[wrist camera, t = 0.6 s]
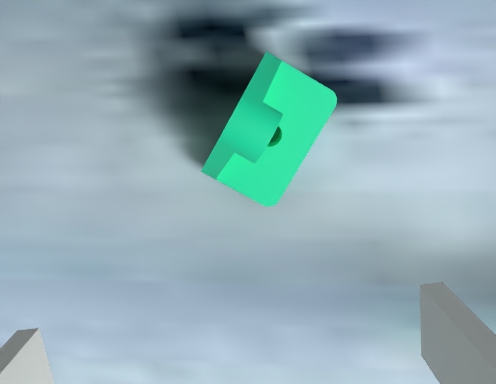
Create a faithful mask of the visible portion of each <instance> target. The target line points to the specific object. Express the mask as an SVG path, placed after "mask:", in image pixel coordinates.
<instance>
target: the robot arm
mask: <svg viewBox="0 0 496 384" xmlns="http://www.w3.org/2000/svg"><path fill="white" fill-rule="evenodd" d="M420 311H421V356H422V357H423V359H424V360H425V362H426V363H427V365H428V366H429V368H430V369H431V371H432V372H433V374H434V375H435V377H436V378H437V380H438V381H439V383H440V384H496V335H495V334H494V333H493V332H492V331H491V330H490V329H489V328H488V327H487V326H486V325H485V324H484V323H483V322H482V321H481V320H480V319H479V318H478V317H477V316H476V315H475V314H474V313H473V312H472V311H471V310H470V309H469V308H468V307H467V306H466V305H465V304H464V303H463V302H462V301H461V300H460V299H459V298H458V297H457V296H456V295H455V294H454V293H453V292H452V291H451V290H450V289H449V288H448V287H447V286H446V285H445V284H444V283H443V282H441V283H433V284H424V285H420ZM0 384H54V381H53V377H52V374H51V370H50V366H49V363H48V359H47V355H46V352H45V348H44V345H43V341H42V337H41V334H40V330H39V328H36V329H27V330H18V331H16V332H15V334H14V335H13V336H12V337H11V338H10V339H9V340H8V341H7V342H6V343H5V344H4V345H3V346H2V348H1V349H0Z"/></svg>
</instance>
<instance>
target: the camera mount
mask: <svg viewBox="0 0 496 384" xmlns="http://www.w3.org/2000/svg"><path fill="white" fill-rule="evenodd" d="M336 104H337V97H336V95H335V93H334V92H333V91H332V90H330V89H329V88H327V87H325V86H323V85H322V84H320V83H318V82H317V81H315V80H313V79H312V78H310V77H308V76H307V75H305V74H303V73H302V72H300V71H298V70H297V69H295V68H293V67H292V66H290V65H288V64H287V63H285V62H283V61H282V60H280V59H278V58H277V57H275V56H273V55H272V54H270V53H268V52H267V51H266V53H265V55H264V57H263V59H262V61H261V62H260V64H259V66H258V68H257V70H256V71H255V73H254V75H253V77H252V79H251V81H250V82H249V84H248V86H247V88H246V90H245V92H244V93H243V95H242V97H241V99H240V101H239V103H238V104H237V106H236V108H235V110H234V112H233V114H232V115H231V117H230V119H229V121H228V123H227V124H226V126H225V128H224V130H223V132H222V134H221V136H220V137H219V139H218V141H217V143H216V145H215V146H214V148H213V150H212V152H211V154H210V156H209V157H208V159H207V161H206V163H205V165H204V167H203V168H202V170H201V172H203V173H205V174H207V175H209V176H210V177H212V178H214V179H216V180H218V181H220V182H221V183H223V184H225V185H227V186H229V187H231V188H232V189H234V190H236V191H238V192H240V193H242V194H243V195H245V196H247V197H249V198H251V199H253V200H254V201H256V202H258V203H260V204H262V205H264V206H273V205H275V204H277V203H278V201H279V200H280V198H281V196H282V195H283V193H284V191H285V190H286V188H287V186H288V185H289V183H290V181H291V180H292V178H293V176H294V175H295V173H296V171H297V170H298V168H299V166H300V165H301V163H302V161H303V160H304V158H305V156H306V155H307V153H308V151H309V150H310V148H311V146H312V145H313V143H314V141H315V140H316V138H317V136H318V135H319V133H320V131H321V130H322V128H323V126H324V125H325V123H326V121H327V120H328V118H329V116H330V115H331V113H332V111H333V110H334V108H335V106H336ZM278 126H279V129H280V134H279V137H278V139H277V140H276V141H274V142H272V143H269V142H270V140H271V139H272V137H273V135H274V133H275V131H276V129H277V127H278Z"/></svg>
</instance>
